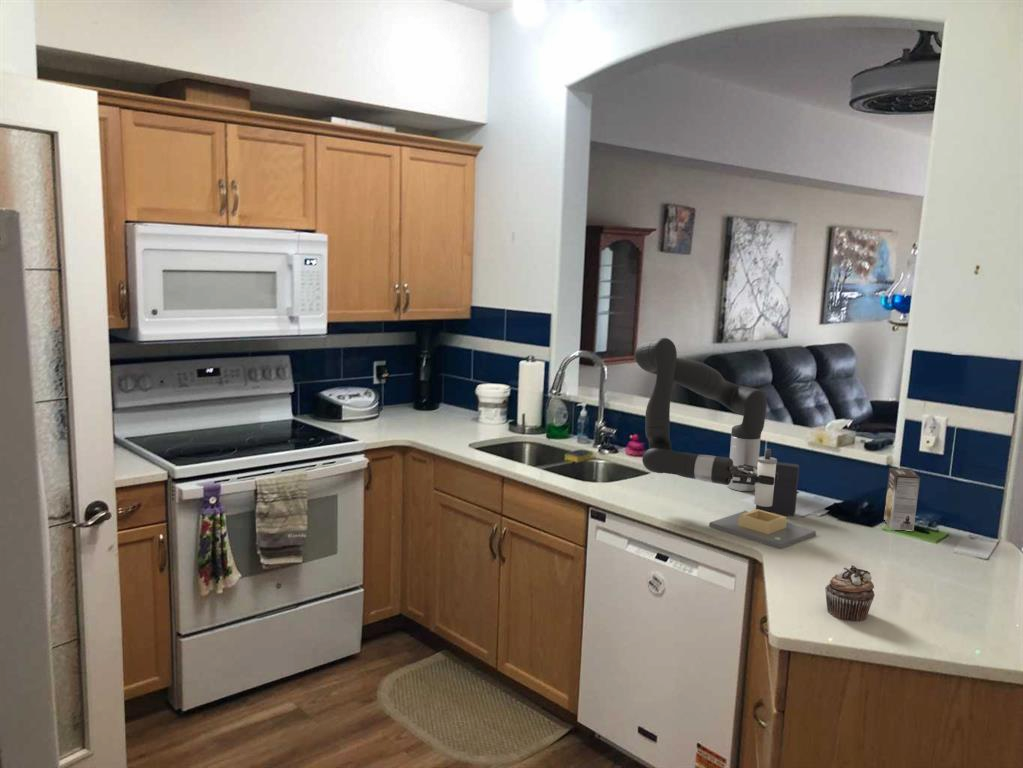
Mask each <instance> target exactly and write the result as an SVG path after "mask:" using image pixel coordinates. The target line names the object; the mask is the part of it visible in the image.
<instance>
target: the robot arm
mask: <svg viewBox="0 0 1023 768" xmlns="http://www.w3.org/2000/svg"><path fill="white" fill-rule="evenodd" d="M677 353H678V352H677V348H676V344H675V343H674V342H673V341H672V340H671V339H669V338H667V337H660V338H655V339H652V340H648V341H644V342H642V343H641V344H639V345H638V346H637V347H636V348H635V352H634V358H635V362H636V363H637V365H638V366H639V367H640V368H641V369H642V370H643V371H645V372H647V373H649V374H653V375H656V379H655V384H654V386H653V391H652V393H651V395H650V397H649V400H648V402H647V405H646V409H645V416H644V417H645V421H644V422H645V430H644V431H645V438H646V439H647V440H648V449H647V450H645V452H644V453H643V455H642V457H641V458H642V459H641V460H642V465H643V466H644V467H645V468H646V470H648V471H650V472H652V473H655V474H667V475H676V476H678V477H683V478H686V479H688V478H689V479H693V480H697V481H702V482H707V483H712V484H719V485H724V486H727V487H728V488H729V489H730V490H735V491H739V492H740V491H741V492H753V491H754V492H755V488H756V484H759V483H761V484H767V485H773V484H774V477H771V476H764V475H759V474H757V466H758V457H760V450H761V439H762V438H761V437H762V432H763V430H764V427H765V422H766V421H765V420H766V415H767V414H766V413H767V406H768V405H767V403H768V401H767V396H766V394H765V392H764V391H763V390H761V389H758V388H753V387H749V386H743V385H739V384H736V383H732V382H730V381H728V380H726V379H725V378H724V376H723V375H722V374H721V373H720V371H718V370H717V369H715V368H714V367H711V366H709V365H708V364H706V363H703V362H700V361H696V360H693V359H687V358H686V359H685V358H681V357H677V355H678V354H677ZM674 383H676V384H678V385H679V386H682V387H684V388H686V389H688V390H690V391H692V392H693V393H696V394H698V395H700V396H702V397H703V398H707V399H710V400H713V401H716V402H718V403H719V404H721V405H722V406H724V407H726V408H727V409H728V410H730V411H732V412H733V413H735V414H737V415H741V416H743V417H742V422H741V423H740V424H737V425H734V426H732V428H731V433H730V434H731V435H730V450H729V457H724V456H718V455H717V456H715V455H709V454H696V453H689V452H681V451H680V452H679V451H674V450H672V444H671V443H672V442H671V439H670V424H671V423H670V419H671V418H670V417H671V416H670V411H671V409H670V407H671V400H672V399H671V398H672V391H673V386H674ZM777 480H778V473H776V472H775V481H777Z"/></svg>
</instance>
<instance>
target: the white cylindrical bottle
mask: <svg viewBox="0 0 1023 768" xmlns="http://www.w3.org/2000/svg"><path fill="white" fill-rule="evenodd" d="M771 450H772V449H771V448H765V453H764V456H759V457H758V466H757V474H759V475H764V476H771V477H774V482H775V472H776V463H777V462H778V458H775V457H771V453H772V451H771ZM773 493H774V484H773V485H767V484H761V483H759V484H756V488H755V490H754V498H753V499H754V500H753V501H754V502H753V503H754V505H755V506H756V505H758V506H764V507H770V506H772V503H773Z"/></svg>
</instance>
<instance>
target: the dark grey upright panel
mask: <svg viewBox="0 0 1023 768" xmlns="http://www.w3.org/2000/svg"><path fill="white" fill-rule="evenodd" d="M776 473H778V480H777V481H775V482H774V493H773V503H772V506H770V507H764V506H758V505H756V504H755V510H756V509H759V510H763V511H766V512H770V513H774V514H777V515H782V516H791V517H794V516H795V514H796V510H797V509H796V507H797V498H798V495H797V494H798V486H799V485H798V484H799V473H800V464H797V463H790V462H780V461H777V463H776Z"/></svg>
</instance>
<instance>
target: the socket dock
mask: <svg viewBox="0 0 1023 768" xmlns="http://www.w3.org/2000/svg"><path fill="white" fill-rule="evenodd" d="M787 519H788V516H785V515H782V514H776V513H770V512H766V511H763V510H759V509H756V508H755V509H754V510H750V511H748V510H744V511H740V512H737V513H734V514H732V515H728V516H725V517H722V518H719V519H716V520H713V521H710V522H709V525H708V527H710V528H713V529H715V530H719V531H721V532H726V533H728V532H729V534H731V533H732V535H735V536H738V535H739V536H738V537H741V536H742V538H744V537H745V539H748V540H751V539H752V541H754V540H755V542H757V541H758V542H757V543H760V542H761V544H764V545H768V546H771V547H773V548H777V549H780V550H781V549H784V548H787V547H789V546H792V545H793V544H796V543H799V542H802V541H804V540H806V539H809V538H812V537H815V536H816V534H817V533H816V532H817V531H816V530H814V529H811V528H807V527H804V526H800V525H797V524H793V523H790V522H787V521H788V520H787Z"/></svg>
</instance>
